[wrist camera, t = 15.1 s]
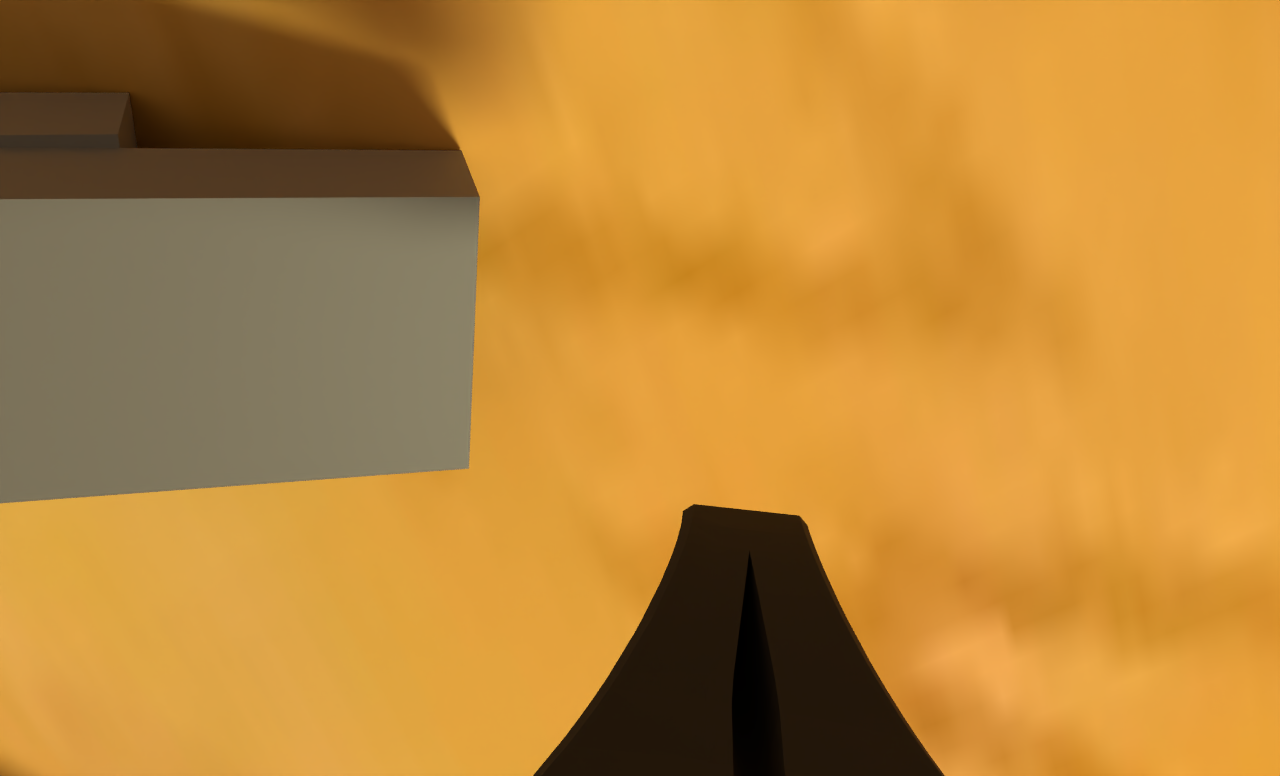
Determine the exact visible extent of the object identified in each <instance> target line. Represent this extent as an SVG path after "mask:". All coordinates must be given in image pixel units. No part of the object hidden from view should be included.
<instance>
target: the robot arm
mask: <svg viewBox="0 0 1280 776" xmlns="http://www.w3.org/2000/svg"><path fill="white" fill-rule="evenodd" d="M533 776H944V774H943V773H942V771H941V770H940V769H939V767H938V766H937V765H936V763H935V762H934V761H933V759H932V758H931V757H930V755H929V754H928V752H927V751H926V750H925V748H924V747H923V745H922V744H921V742H920V741H919V739H918V738H917V736H916V735H915V734H914V732H913V731H912V729H911V728H910V726H909V724H908V723H907V721H906V720H905V718H904V717H903V715H902V714H901V712H900V711H899V709H898V707H897V706H896V704H895V702H894V701H893V699H892V698H891V696H890V694H889V693H888V691H887V690H886V688H885V686H884V685H883V683H882V681H881V680H880V678H879V676H878V675H877V673H876V671H875V669H874V668H873V666H872V664H871V662H870V661H869V659H868V657H867V655H866V653H865V651H864V650H863V648H862V646H861V644H860V642H859V640H858V638H857V636H856V635H855V633H854V631H853V629H852V627H851V625H850V623H849V622H848V620H847V618H846V616H845V614H844V612H843V610H842V608H841V606H840V604H839V601H838V599H837V597H836V595H835V593H834V591H833V589H832V586H831V584H830V582H829V580H828V578H827V575H826V573H825V571H824V568H823V566H822V564H821V561H820V559H819V556H818V554H817V552H816V549H815V546H814V544H813V541H812V538H811V535H810V533H809V530H808V526H807V524H806V523H805V522H804V521H803V520H802V518H801V517H800V516H797V515H788V514H778V513H769V512H760V511H751V510H742V509H733V508H724V507H714V506H705V505H696V504H694V505H692V506H690V507H689V508H687V509H686V510H684V511H683V516H682V523H681V528H680V531H679V535H678V539H677V542H676V545H675V548H674V551H673V554H672V556H671V559H670V561H669V564H668V566H667V568H666V571H665V573H664V576H663V578H662V580H661V582H660V584H659V586H658V588H657V590H656V592H655V594H654V596H653V598H652V600H651V602H650V604H649V606H648V608H647V610H646V612H645V614H644V616H643V618H642V620H641V622H640V624H639V626H638V628H637V630H636V631H635V633H634V635H633V636H632V638H631V640H630V641H629V643H628V645H627V646H626V648H625V650H624V651H623V653H622V655H621V656H620V658H619V659H618V661H617V663H616V664H615V666H614V668H613V669H612V671H611V673H610V674H609V676H608V677H607V679H606V680H605V682H604V683H603V685H602V686H601V688H600V689H599V691H598V692H597V694H596V695H595V697H594V698H593V700H592V701H591V702H590V704H589V705H588V707H587V708H586V710H585V711H584V712H583V714H582V715H581V716H580V718H579V719H578V720H577V722H576V723H575V724H574V726H573V727H572V728H571V730H570V731H569V732H568V734H567V735H566V736H565V738H564V739H563V740H562V741H561V743H560V744H559V745H558V746H557V747H556V749H555V750H554V751H553V752H552V753H551V755H550V756H549V757H548V758H547V760H546V761H545V762H544V763H543V764H542V766H541V767H540V768H539V769H538V770H537V772H536V773H535V774H534V775H533Z"/></svg>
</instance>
